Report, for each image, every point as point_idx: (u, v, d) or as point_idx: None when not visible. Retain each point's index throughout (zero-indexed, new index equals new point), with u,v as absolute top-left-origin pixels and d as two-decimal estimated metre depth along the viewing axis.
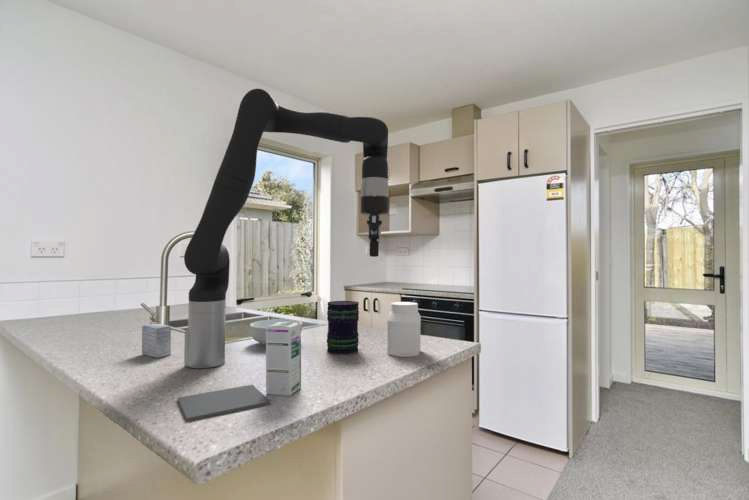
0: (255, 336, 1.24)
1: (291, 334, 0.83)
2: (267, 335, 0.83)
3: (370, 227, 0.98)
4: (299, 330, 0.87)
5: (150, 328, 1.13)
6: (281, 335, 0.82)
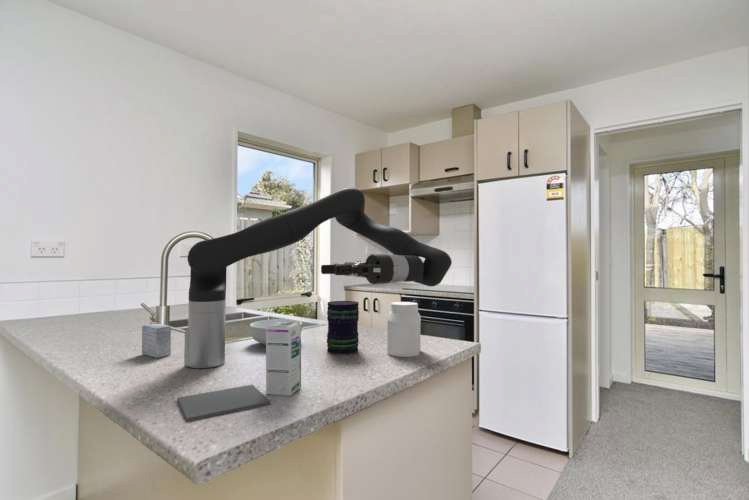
0: (255, 336, 1.24)
1: (291, 334, 0.83)
2: (267, 335, 0.83)
3: (369, 266, 0.90)
4: (299, 330, 0.87)
5: (150, 328, 1.13)
6: (281, 335, 0.82)
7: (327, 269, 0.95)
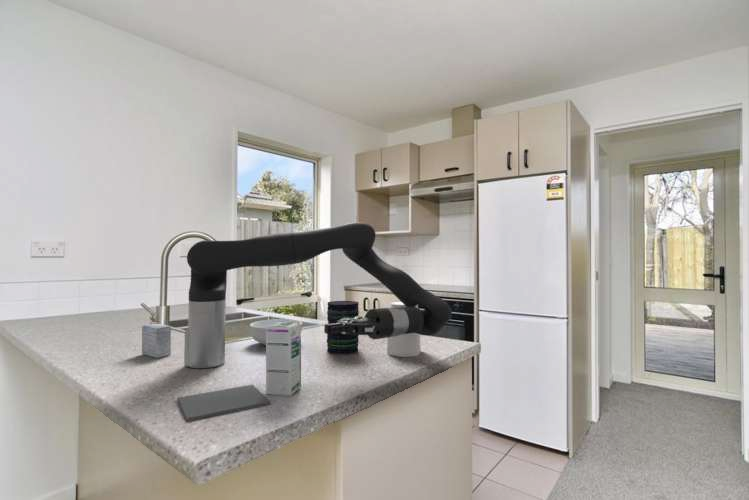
0: (255, 336, 1.24)
1: (291, 334, 0.83)
2: (267, 335, 0.83)
3: (359, 326, 0.91)
4: (299, 330, 0.87)
5: (150, 328, 1.13)
6: (281, 335, 0.82)
7: None
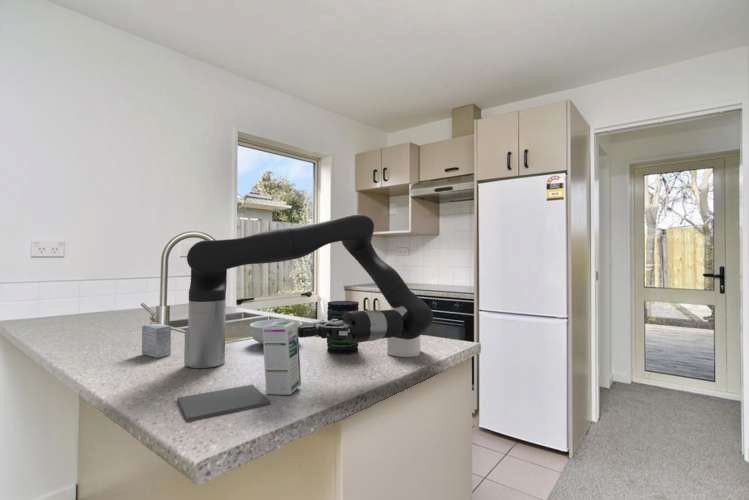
0: (255, 336, 1.24)
1: (288, 333, 0.82)
2: (264, 335, 0.83)
3: (333, 329, 0.87)
4: (296, 329, 0.86)
5: (150, 328, 1.13)
6: (278, 335, 0.82)
7: None
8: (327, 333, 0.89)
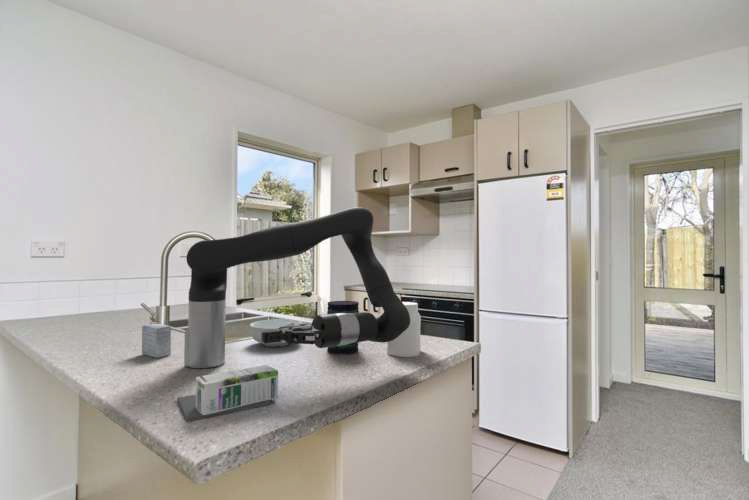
0: (255, 336, 1.24)
1: (212, 410, 0.71)
2: None
3: (299, 334, 0.83)
4: (212, 387, 0.71)
5: (150, 328, 1.13)
6: None
7: None
8: (294, 338, 0.85)
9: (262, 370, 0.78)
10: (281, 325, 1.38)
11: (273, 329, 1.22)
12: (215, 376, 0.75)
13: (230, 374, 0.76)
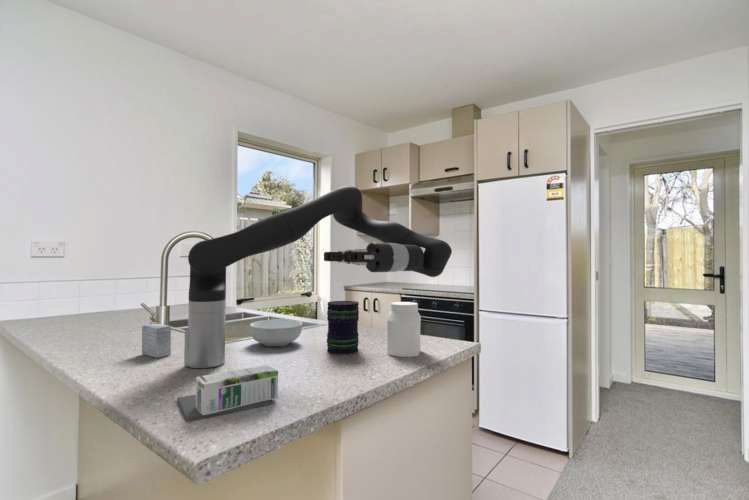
0: (255, 336, 1.24)
1: (212, 410, 0.71)
2: None
3: (358, 253, 0.91)
4: (212, 387, 0.71)
5: (150, 328, 1.13)
6: None
7: None
8: (353, 259, 0.93)
9: (262, 370, 0.78)
10: (281, 325, 1.38)
11: (273, 329, 1.22)
12: (215, 376, 0.75)
13: (230, 374, 0.76)
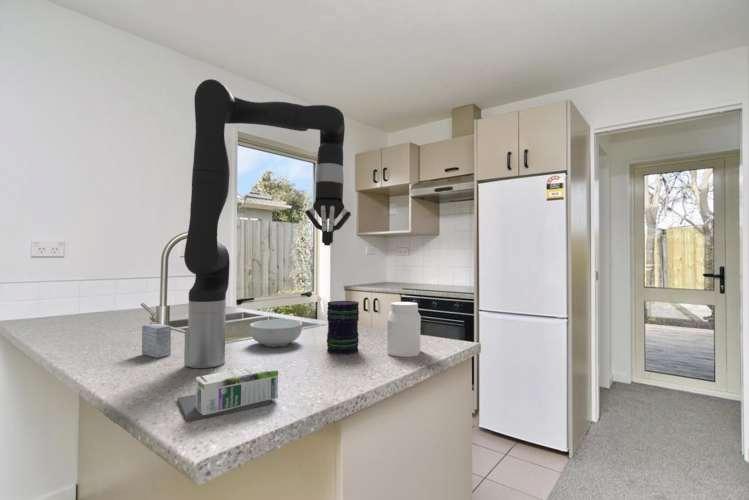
0: (255, 336, 1.24)
1: (212, 410, 0.71)
2: None
3: (344, 222, 1.07)
4: (212, 387, 0.71)
5: (150, 328, 1.13)
6: None
7: None
8: (334, 222, 1.08)
9: (262, 370, 0.78)
10: (281, 325, 1.38)
11: (273, 329, 1.22)
12: (215, 376, 0.75)
13: (230, 374, 0.76)
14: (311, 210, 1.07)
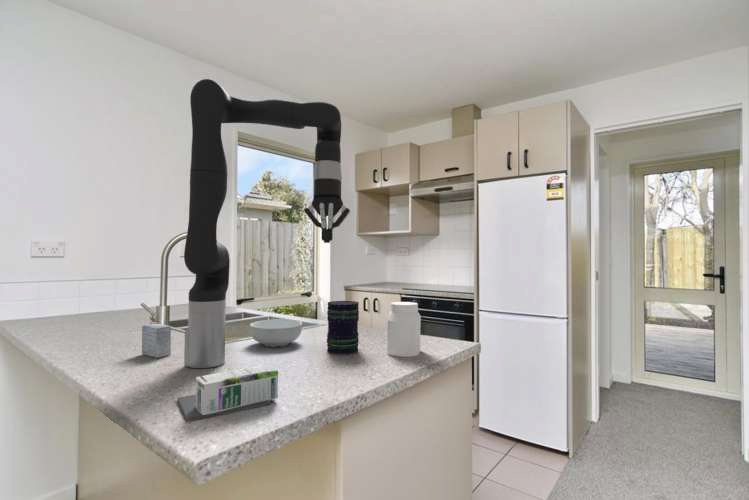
0: (255, 336, 1.24)
1: (212, 410, 0.71)
2: None
3: (343, 219, 1.07)
4: (212, 387, 0.71)
5: (150, 328, 1.13)
6: None
7: None
8: (333, 219, 1.08)
9: (262, 370, 0.78)
10: (281, 325, 1.38)
11: (273, 329, 1.22)
12: (215, 376, 0.75)
13: (230, 374, 0.76)
14: (310, 208, 1.07)
